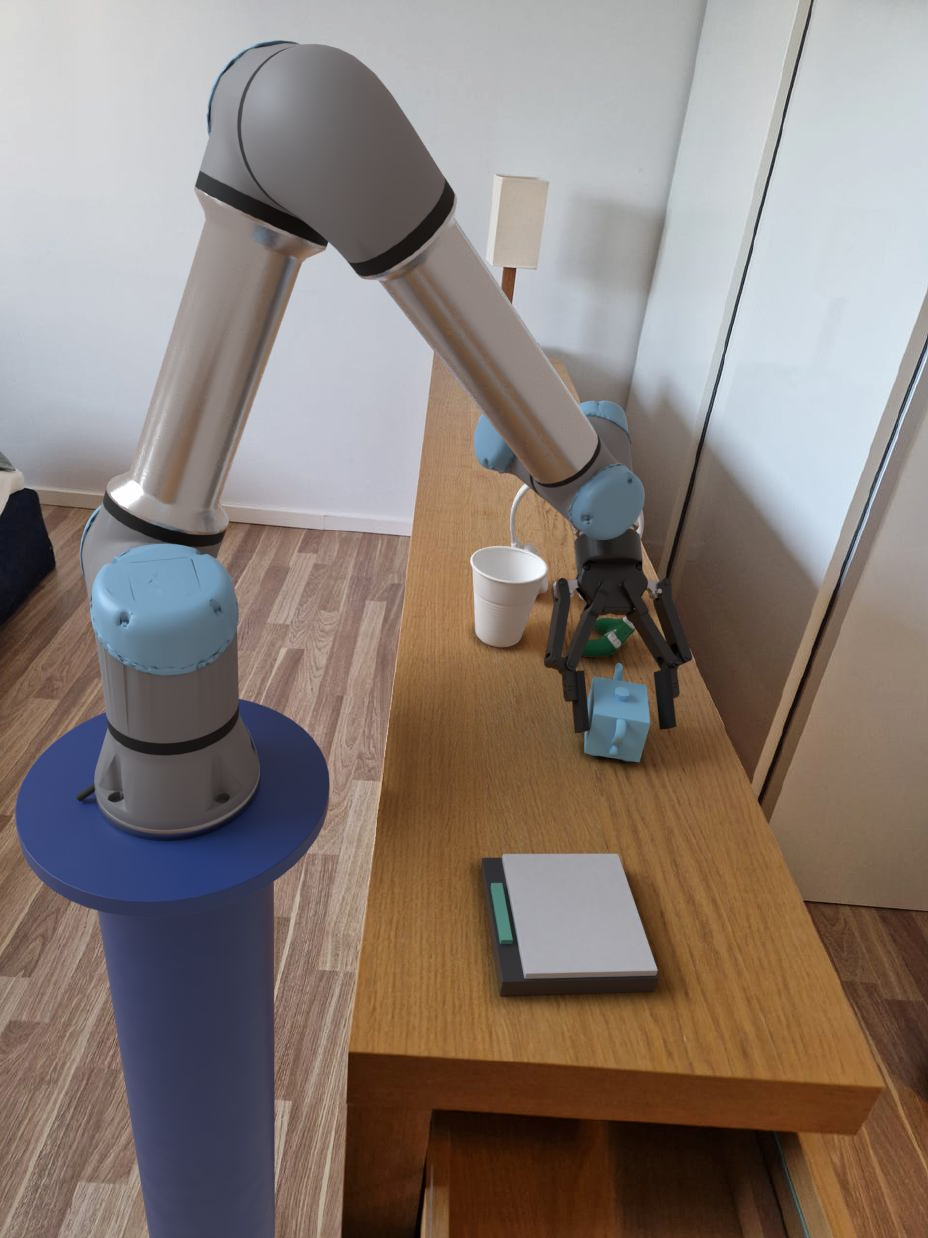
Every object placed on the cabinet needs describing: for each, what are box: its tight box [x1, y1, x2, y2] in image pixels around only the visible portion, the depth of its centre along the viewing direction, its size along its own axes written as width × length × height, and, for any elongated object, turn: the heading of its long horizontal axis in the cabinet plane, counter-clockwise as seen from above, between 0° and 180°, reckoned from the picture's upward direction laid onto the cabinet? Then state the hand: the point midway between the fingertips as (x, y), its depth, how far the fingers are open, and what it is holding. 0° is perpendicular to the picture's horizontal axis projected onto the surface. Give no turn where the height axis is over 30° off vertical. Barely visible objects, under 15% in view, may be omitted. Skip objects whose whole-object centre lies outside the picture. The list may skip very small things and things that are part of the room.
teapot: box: [583, 662, 651, 763], centre depth 98 cm, size 12×6×8 cm, turn 173°
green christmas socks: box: [581, 615, 636, 658], centre depth 116 cm, size 9×4×6 cm
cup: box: [470, 545, 549, 648], centre depth 113 cm, size 10×10×11 cm
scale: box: [479, 853, 660, 997], centre depth 76 cm, size 13×13×2 cm
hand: (625, 730), depth 95 cm, fingers open, 9 cm apart
